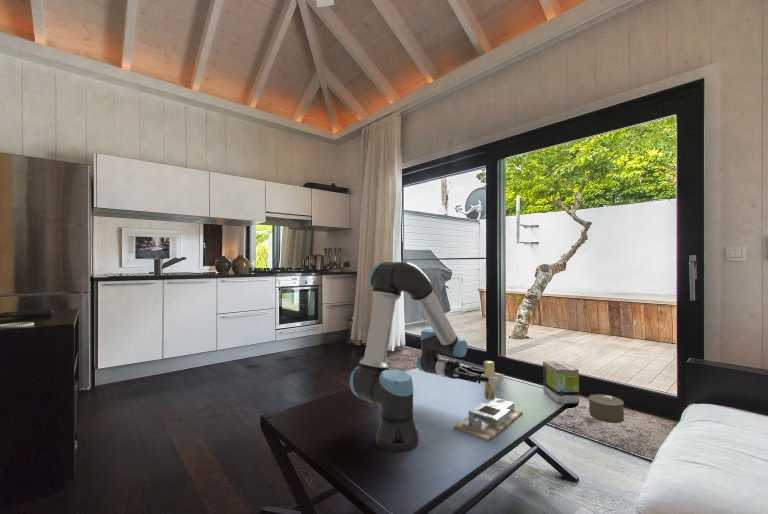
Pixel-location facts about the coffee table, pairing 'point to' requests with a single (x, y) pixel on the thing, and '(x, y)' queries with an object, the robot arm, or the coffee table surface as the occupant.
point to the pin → (489, 387)
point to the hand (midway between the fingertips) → (499, 379)
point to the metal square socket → (488, 415)
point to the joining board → (493, 430)
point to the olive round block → (606, 408)
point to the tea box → (561, 381)
